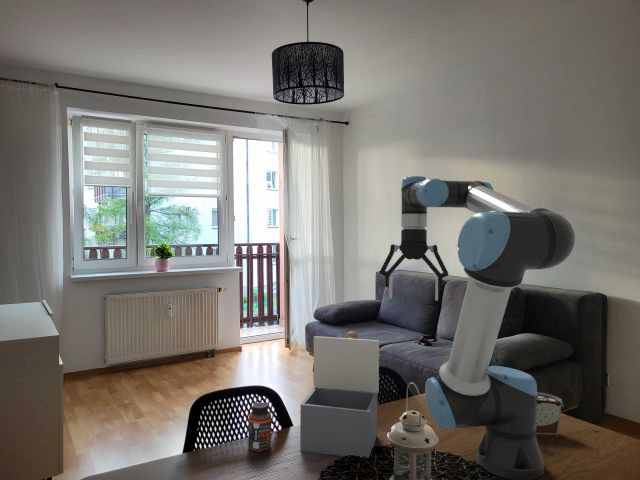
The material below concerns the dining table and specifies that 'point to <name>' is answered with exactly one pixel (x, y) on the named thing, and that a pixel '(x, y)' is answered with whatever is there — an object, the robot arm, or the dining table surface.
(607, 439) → the dining table surface
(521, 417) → the robot arm
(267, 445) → the supplement bottle
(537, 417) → the food container
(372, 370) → the lid
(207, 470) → the dining table surface
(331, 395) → the grey box
